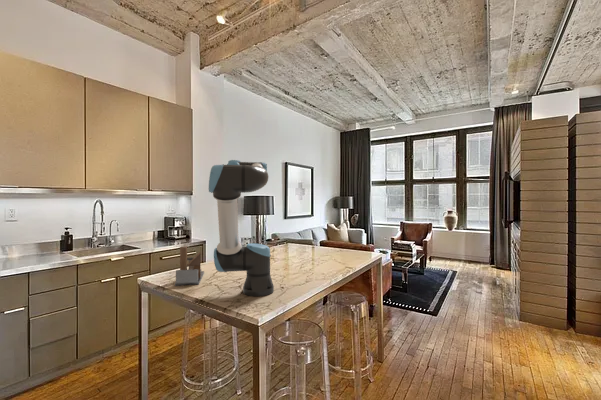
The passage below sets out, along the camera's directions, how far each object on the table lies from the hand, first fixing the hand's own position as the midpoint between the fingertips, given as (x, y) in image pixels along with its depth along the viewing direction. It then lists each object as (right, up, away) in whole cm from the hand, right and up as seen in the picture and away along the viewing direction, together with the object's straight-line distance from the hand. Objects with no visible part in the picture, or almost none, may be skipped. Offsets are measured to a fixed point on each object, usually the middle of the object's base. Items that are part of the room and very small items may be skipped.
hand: (234, 226), depth 166 cm
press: (-24, -29, -6) cm, 38 cm away
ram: (-24, -28, -4) cm, 37 cm away
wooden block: (-23, -28, -9) cm, 38 cm away
